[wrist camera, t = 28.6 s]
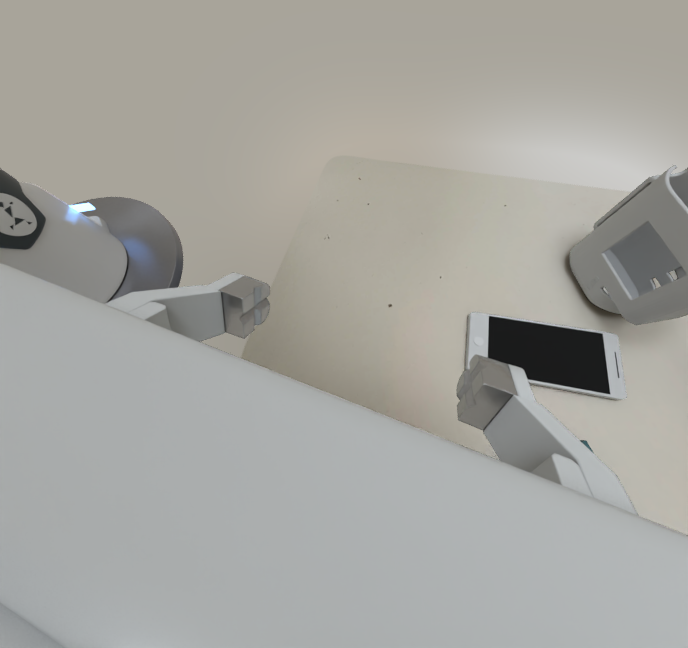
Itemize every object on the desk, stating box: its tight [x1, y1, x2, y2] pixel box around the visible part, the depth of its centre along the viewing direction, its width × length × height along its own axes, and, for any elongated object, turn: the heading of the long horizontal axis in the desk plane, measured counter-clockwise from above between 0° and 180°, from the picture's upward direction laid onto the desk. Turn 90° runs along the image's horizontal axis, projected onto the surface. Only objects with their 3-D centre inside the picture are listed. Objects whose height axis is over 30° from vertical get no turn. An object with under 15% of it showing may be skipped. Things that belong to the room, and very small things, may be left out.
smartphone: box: [465, 312, 627, 400], centre depth 29 cm, size 7×15×1 cm, turn 78°
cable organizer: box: [570, 165, 688, 325], centre depth 26 cm, size 7×12×12 cm, turn 10°
